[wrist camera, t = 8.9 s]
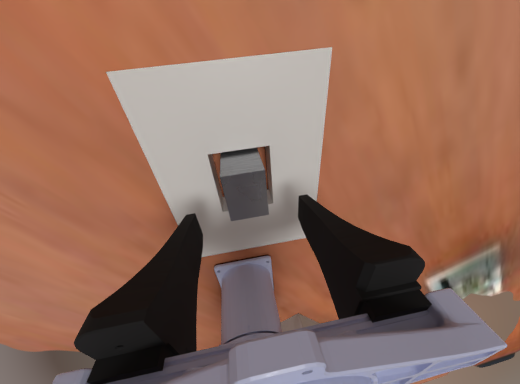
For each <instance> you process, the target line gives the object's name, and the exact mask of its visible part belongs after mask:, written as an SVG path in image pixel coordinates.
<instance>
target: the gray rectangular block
mask: <svg viewBox="0 0 520 384" xmlns="http://www.w3.org/2000/svg"><path fill="white" fill-rule="evenodd" d="M220 179H221V183H222V187H223V191H224V195H225V199H226V203H227V208H228V212H229V216H230V220H231V221H236V220H242V219H247V218H253V217H259V216H264V215H269V210H268V199H267V187H266V176H265V169H264V166H263V163H262V161H261V158H260V155H259V153H258V150H257V147H256V148H249V149H242V150H235V151H229V152H222V153H221V160H220Z"/></svg>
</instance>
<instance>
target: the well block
mask: <svg viewBox="0 0 520 384" xmlns="http://www.w3.org/2000/svg"><path fill="white" fill-rule="evenodd" d="M331 54H332V47H330V48H321V49H312V50H302V51H293V52H284V53H275V54H266V55H257V56H248V57H239V58H230V59H220V60H211V61H202V62H193V63H184V64H175V65H166V66H157V67H148V68H138V69H129V70H120V71H111V72H106V73H107V75H108V77H109V79H110V81H111V84H112V86H113V88H114V90H115V92H116V94H117V96H118V98H119V101H120V103H121V105H122V107H123V109H124V111H125V113H126V116H127V118H128V120H129V122H130V124H131V126H132V128H133V130H134V133H135V135H136V137H137V139H138V141H139V143H140V145H141V148H142V150H143V152H144V154H145V156H146V158H147V160H148V162H149V165H150V167H151V169H152V171H153V173H154V175H155V177H156V180H157V182H158V184H159V186H160V188H161V190H162V192H163V194H164V197H165V199H166V201H167V203H168V205H169V207H170V209H171V212H172V214H173V216H174V218H175V220H176V222H177V224H178V226H179V224H180V223H181V221H182V220H183V218H184V217H185V216H186V215H188V214H194V213H195V214H196V217H197V219H198V222H199V225H200V227H201V230H202V233H203V250H202V257H205V256H211V255H216V254H222V253H227V252H232V251H238V250H243V249H248V248H254V247H259V246H264V245H270V244H275V243H281V242H286V241H291V240H297V239H302V238H306V236H305V234H304V232H303V230H302V227H301V225H300V222H299V219H298V199H299V196H300V195H306V194H307V195H309V196H310V197H311V198H312V199H314V200H315V201H316V202H317V192H318V182H319V172H320V162H321V153H322V143H323V133H324V123H325V113H326V103H327V93H328V84H329V74H330V64H331ZM263 146H265V151H266V164H267V177H268V190H267V199H268V210H269V215H264V216H259V217H253V218H247V219H242V220H236V221H231V220H230V216H229V212H228V208H227V203H226V199H225V197H223V196H222V192H221V188H220V184H219V180H218V176H217V172H216V168H215V164H214V160H213V156H212V154H215V153H222V152H229V151H235V150H242V149H249V148H256V147H263Z"/></svg>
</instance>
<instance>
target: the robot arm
mask: <svg viewBox="0 0 520 384" xmlns="http://www.w3.org/2000/svg"><path fill="white" fill-rule="evenodd" d="M298 219H299V222H300V225H301V227H302V230H303V232H304V234H305V236H306V238H307V240H308V242H309V244H310V246H311V248H312V250H313V251H314V253H315V255H316V257H317V260H318V262H319V264H320V267H321V270H322V272H323V275H324V277H325V280H326V283H327V285H328V288H329V291H330V294H331V297H332V300H333V303H334V306H335V309H336V312H337V315H338V318H339V320H334V321H330V322H325V323H321V324H316V325H312V326H307V327H303V328H299V329H294V330H290V331H285V332H282V328H281V323H280V319H279V314H278V310H277V305H276V300H275V296H274V287H273V276H272V265H271V257H270V256H262V257H257V258H252V259H246V260H241V261H236V262H231V263H225V264H220V265H216V266H215V267H214V271H215V273H216V276H217V279H218V281H219V284H220V286H221V289H222V306H221V345H219V346H218V347H213V348H209V349H204V350H200V351H196V311H197V286H198V277H199V270H200V264H201V257H202V250H203V233H202V230H201V227H200V225H199V222H198V219H197V217H196V214H195V213H194V214H188V215H186V216H185V217H184V218H183V220H182V221H181V223H180V224H179V226H178V227H177V228H176V230H175V231H174V233H173V234H172V235H171V237H170V238H169V239H168V241H167V242H166V243H165V245H164V246H163V247H162V248H161V250H160V251H159V252H158V253H157V254H156V255H155V256H154V257H153V258H152V260H151V261H150V262H149V263H148V264H147V265H146V266H145V267H144V268H143V269H141V270H140V271H139V272H138V273H137V274H136V275H135V276H134V277H133V278H132V279H131V280H129V281H128V282H127V283H126V284H125V285H123V286H122V287H121V288H120V289H118V290H117V291H116V292H115V293H113V294H112V295H111V296H109V297H108V298H107V299H105V300H104V301H103V302H101V303H100V304H98V305H97V306H96V307H94V308H93V309H91V311H90V312H89V314H88V316H87V318H86V320H85V322H84V324H83V325H82V327H81V329H80V331H79V333H78V335H77V337H76V339H75V341H74V345H75V347H76V349H78V350H79V351H80V352H82V353H84V354H86V355H88V356H90V357H91V358H93V359H95V360H96V361H95V364H94V366H93V368H92V369H91V368H84V369H79V370H74V371H70V372H65V373H60V374H58V375H57V376H56V377H55V379H54V381H53V383H52V384H410V383H413V382H416V381H420V380H423V379H426V378H429V377H433V376H436V375H439V374H443V373H446V372H450V371H453V370H457V369H461V368H464V367H468V366H472V365H475V364H477V363H479V362H481V361H482V360H484V359H486V358H488V357H490V356H491V355H493V354H495V353H497V352H499V351H501V350H502V349H504V348H506V347H507V344H506V343H505V342H504V341H503V340H502V339H501V338H500V337H499V336H498V335H497V334H496V333H495V332H494V331H493V330H492V329H491V328H490V327H489V326H488V325H487V324H486V323H485V322H484V321H483V320H482V319H481V318H480V317H479V316H478V315H477V314H476V313H475V312H474V311H473V310H472V309H471V308H470V307H469V306H468V305H467V304H466V303H465V302H464V301H463V300H462V299H461V298H460V297H459V296H458V295H457V294H456V293H455V292H454V291H453V290H452V289H451V288H446V289H442V290H437V291H433V292H429V293H427V294H425V295H424V294H423V293H422V292H421V291H420V290H419V289H421V286H420V284H419V283H418V282H417V281H416V280H417V279H418V277H419V276H420V274H421V273H422V271H423V269H424V267H425V262H424V260H423V259H422V258H421V257H420V256H419V255H418V254H417V253H416V252H415V251H414V250H413V249H412V248H411V247H410V246H407V245H404V244H400V243H397V242H394V241H390V240H387V239H385V238H382V237H379V236H376V235H374V234H371V233H369V232H367V231H365V230H362V229H360V228H358V227H356V226H354V225H352V224H350V223H348V222H346V221H345V220H343V219H341V218H339V217H338V216H336V215H335V214H333V213H332V212H330V211H329V210H327V209H326V208H324V207H323V206H322V205H320V204H319V203H318V202H316V201H315V200H314V199H312V198H311V197H310V196H309V195H307V194H306V195H300V196H299V199H298Z"/></svg>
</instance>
